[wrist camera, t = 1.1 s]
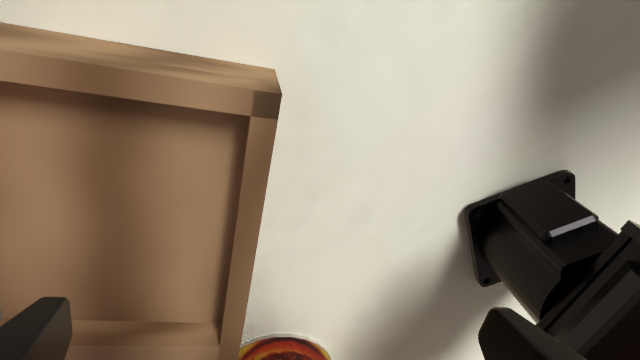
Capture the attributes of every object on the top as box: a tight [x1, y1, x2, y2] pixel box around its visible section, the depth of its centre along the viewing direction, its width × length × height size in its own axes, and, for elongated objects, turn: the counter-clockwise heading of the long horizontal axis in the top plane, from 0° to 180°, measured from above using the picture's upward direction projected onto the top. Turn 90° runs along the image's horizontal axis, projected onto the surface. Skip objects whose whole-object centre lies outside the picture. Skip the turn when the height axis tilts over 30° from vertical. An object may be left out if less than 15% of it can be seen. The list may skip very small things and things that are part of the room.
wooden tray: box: [0, 23, 282, 360], centre depth 18 cm, size 13×17×4 cm
